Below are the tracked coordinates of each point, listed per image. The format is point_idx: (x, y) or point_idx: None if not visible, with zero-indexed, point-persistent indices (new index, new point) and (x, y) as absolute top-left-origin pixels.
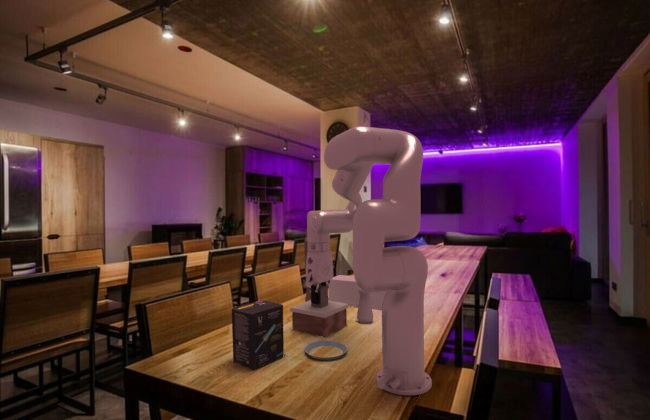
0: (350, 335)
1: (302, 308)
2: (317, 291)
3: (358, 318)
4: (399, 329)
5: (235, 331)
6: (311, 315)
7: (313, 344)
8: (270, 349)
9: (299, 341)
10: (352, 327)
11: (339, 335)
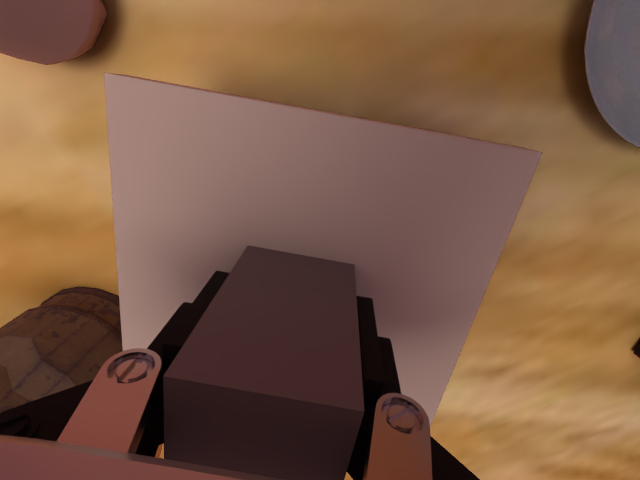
0: (322, 12)
1: (415, 379)
2: (384, 404)
3: (89, 31)
4: None
5: None
6: None
7: (635, 135)
8: None
9: (502, 252)
10: (179, 63)
11: (348, 85)
